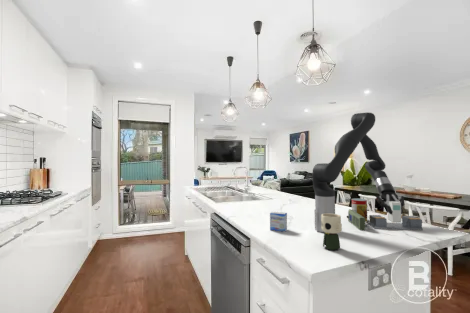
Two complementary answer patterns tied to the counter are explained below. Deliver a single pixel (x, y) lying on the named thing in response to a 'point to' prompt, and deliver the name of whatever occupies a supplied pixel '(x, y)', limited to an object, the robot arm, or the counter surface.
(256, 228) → the counter surface
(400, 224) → the grey stepped block
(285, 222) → the medicine box
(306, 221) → the counter surface
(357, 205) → the canned food
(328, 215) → the character mug
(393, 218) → the block
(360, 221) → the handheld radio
